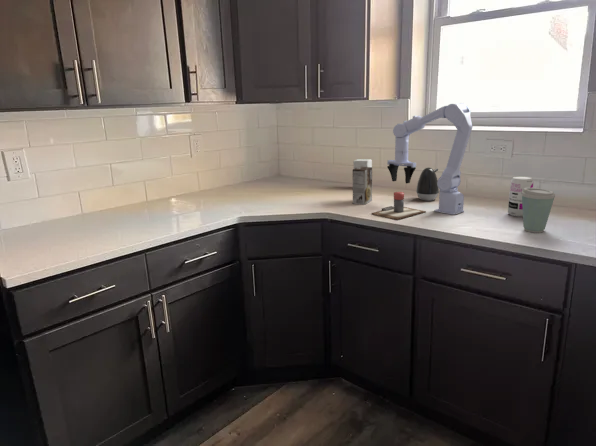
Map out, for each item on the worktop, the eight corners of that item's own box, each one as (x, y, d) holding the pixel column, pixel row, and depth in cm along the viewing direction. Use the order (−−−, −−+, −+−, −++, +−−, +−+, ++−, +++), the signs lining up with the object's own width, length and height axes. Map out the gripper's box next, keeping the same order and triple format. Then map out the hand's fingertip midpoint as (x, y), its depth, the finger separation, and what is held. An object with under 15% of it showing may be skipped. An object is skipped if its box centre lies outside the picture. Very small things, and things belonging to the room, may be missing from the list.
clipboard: (425, 212, 197) (426, 208, 196) (397, 220, 186) (397, 216, 186) (399, 207, 208) (399, 203, 207) (371, 214, 197) (371, 210, 196)
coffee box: (359, 199, 225) (360, 166, 221) (372, 200, 222) (372, 166, 218) (351, 203, 218) (351, 169, 213) (364, 204, 214) (365, 169, 210)
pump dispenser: (443, 200, 218) (445, 167, 214) (424, 202, 214) (426, 169, 210) (429, 196, 227) (431, 165, 223) (411, 198, 223) (412, 167, 220)
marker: (404, 210, 198) (405, 192, 196) (402, 213, 194) (402, 194, 192) (394, 210, 199) (394, 191, 197) (392, 212, 196) (392, 193, 194)
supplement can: (531, 213, 190) (534, 176, 187) (528, 218, 184) (532, 180, 180) (509, 211, 194) (512, 175, 191) (506, 216, 188) (509, 178, 184)
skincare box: (372, 188, 252) (372, 159, 248) (367, 190, 247) (367, 160, 243) (358, 187, 256) (358, 158, 252) (353, 189, 251) (353, 160, 247)
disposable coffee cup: (541, 226, 172) (545, 185, 168) (557, 234, 162) (562, 191, 158) (512, 227, 172) (516, 186, 168) (527, 235, 162) (531, 192, 158)
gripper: (421, 151, 203) (419, 182, 206) (394, 149, 214) (394, 179, 217) (410, 153, 199) (409, 184, 202) (384, 151, 210) (383, 181, 213)
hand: (400, 182), depth 209 cm, fingers open, 7 cm apart
